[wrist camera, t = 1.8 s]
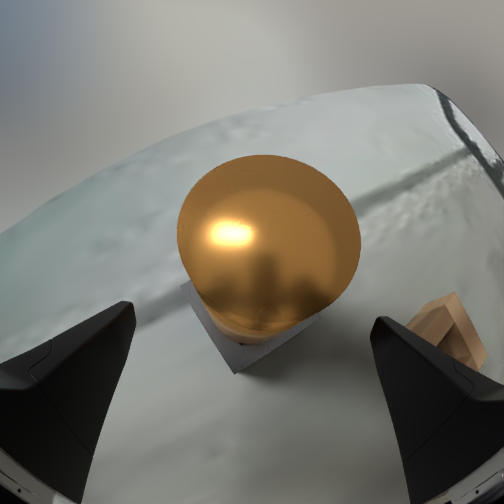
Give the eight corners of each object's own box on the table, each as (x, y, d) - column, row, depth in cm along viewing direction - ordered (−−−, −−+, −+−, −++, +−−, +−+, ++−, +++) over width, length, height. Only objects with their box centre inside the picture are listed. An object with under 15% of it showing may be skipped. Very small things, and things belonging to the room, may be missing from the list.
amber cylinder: (294, 322, 19) (391, 254, 7) (236, 359, 18) (243, 363, 6) (257, 268, 20) (290, 136, 8) (200, 302, 19) (148, 200, 7)
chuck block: (304, 325, 19) (320, 317, 16) (234, 371, 18) (234, 374, 14) (258, 260, 21) (264, 237, 17) (190, 300, 19) (180, 286, 16)
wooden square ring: (458, 359, 18) (487, 355, 15) (413, 414, 17) (443, 418, 13) (426, 303, 20) (454, 291, 17) (376, 354, 19) (404, 351, 15)
